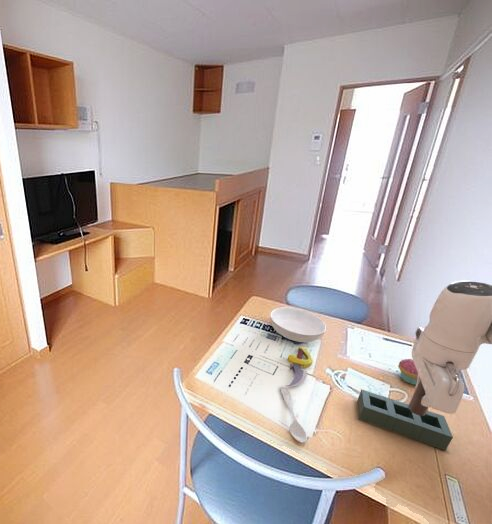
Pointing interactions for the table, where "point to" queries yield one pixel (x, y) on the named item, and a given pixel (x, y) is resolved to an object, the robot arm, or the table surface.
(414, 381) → the cupcake
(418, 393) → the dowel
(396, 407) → the peg block
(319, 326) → the serving bowl
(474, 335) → the robot arm
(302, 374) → the knife
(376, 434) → the table surface
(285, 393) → the spoon
